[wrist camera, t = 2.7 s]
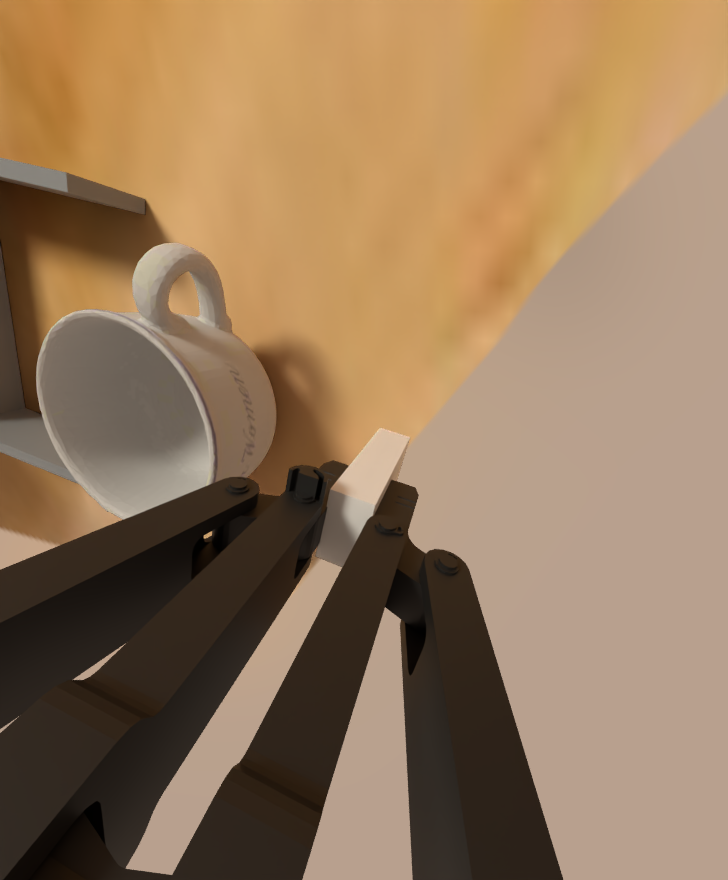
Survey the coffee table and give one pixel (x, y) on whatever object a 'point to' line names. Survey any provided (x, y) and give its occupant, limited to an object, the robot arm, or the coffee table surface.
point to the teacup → (155, 391)
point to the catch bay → (3, 409)
